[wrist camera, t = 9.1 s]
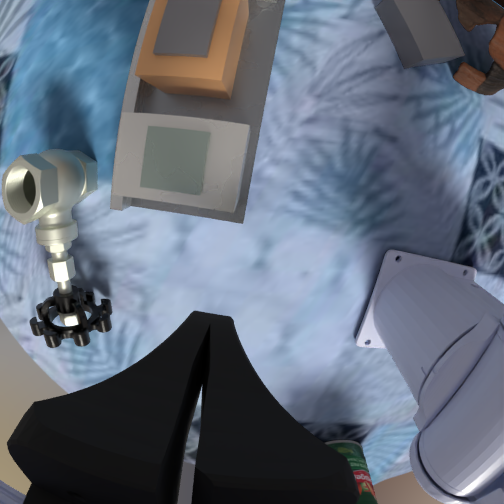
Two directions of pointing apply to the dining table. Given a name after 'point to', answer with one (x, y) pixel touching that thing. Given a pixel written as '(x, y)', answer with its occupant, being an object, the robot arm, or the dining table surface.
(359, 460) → the canned tomato
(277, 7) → the rail plate
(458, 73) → the knobbed brown ring
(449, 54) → the dark gray block
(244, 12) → the orange module
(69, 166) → the valve
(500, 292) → the dining table surface
